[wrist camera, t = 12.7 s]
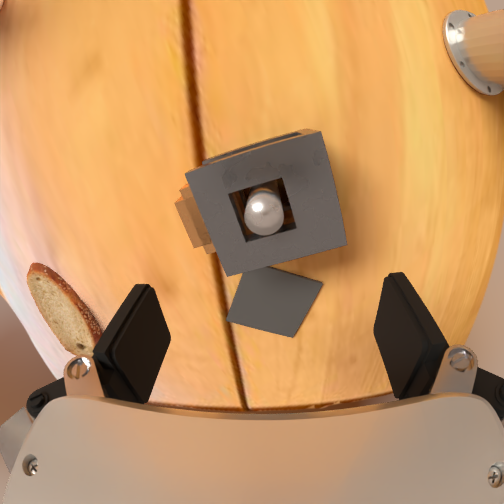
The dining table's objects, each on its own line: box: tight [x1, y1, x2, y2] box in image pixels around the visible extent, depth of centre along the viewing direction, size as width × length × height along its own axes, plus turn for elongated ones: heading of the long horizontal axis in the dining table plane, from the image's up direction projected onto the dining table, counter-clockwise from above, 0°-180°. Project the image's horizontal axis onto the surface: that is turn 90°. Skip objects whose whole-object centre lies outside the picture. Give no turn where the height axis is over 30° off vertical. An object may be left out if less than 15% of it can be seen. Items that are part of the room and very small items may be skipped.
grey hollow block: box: [175, 129, 347, 277], centre depth 26 cm, size 14×10×8 cm
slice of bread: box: [27, 263, 102, 358], centre depth 39 cm, size 18×18×4 cm
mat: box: [226, 266, 323, 338], centre depth 36 cm, size 10×10×1 cm
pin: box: [244, 180, 284, 235], centre depth 25 cm, size 3×3×10 cm
